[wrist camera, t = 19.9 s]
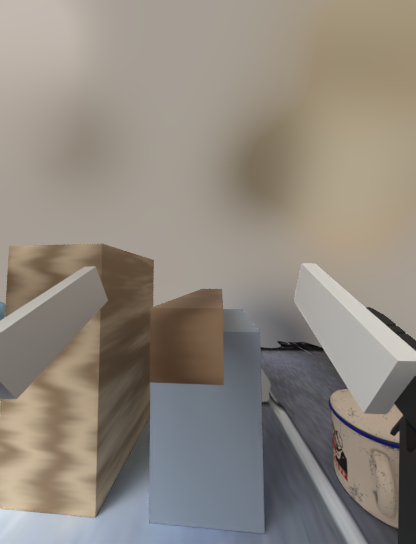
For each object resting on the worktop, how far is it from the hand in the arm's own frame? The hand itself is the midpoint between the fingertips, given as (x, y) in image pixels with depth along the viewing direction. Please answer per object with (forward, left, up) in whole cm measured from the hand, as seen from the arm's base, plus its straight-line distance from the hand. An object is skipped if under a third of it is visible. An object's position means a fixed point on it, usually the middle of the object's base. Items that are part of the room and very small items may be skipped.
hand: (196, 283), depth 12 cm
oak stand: (-18, +16, -25) cm, 35 cm away
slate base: (0, +16, -25) cm, 30 cm away
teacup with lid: (+20, +12, -26) cm, 35 cm away
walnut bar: (0, +11, -5) cm, 12 cm away
